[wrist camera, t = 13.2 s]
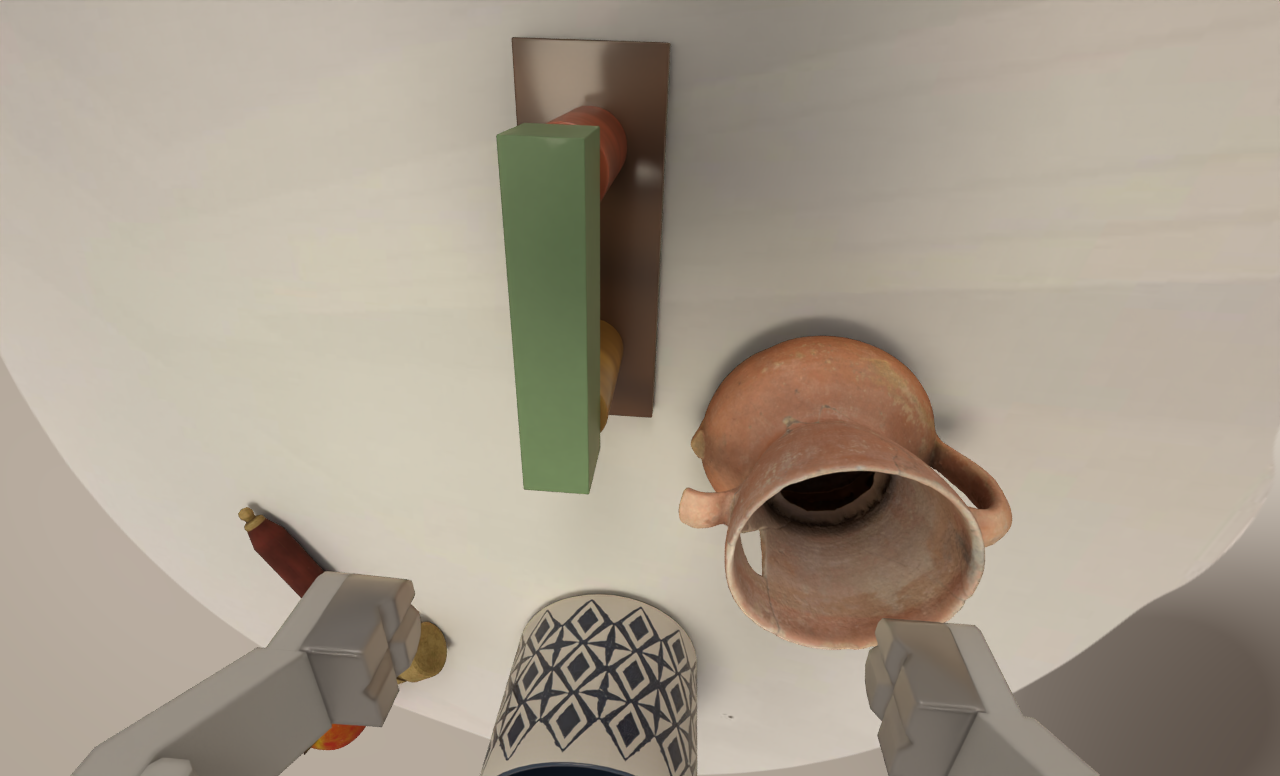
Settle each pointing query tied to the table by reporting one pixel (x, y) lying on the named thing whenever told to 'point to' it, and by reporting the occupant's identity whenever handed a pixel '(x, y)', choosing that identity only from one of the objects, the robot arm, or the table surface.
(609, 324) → the rod stand
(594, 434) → the bar
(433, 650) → the gavel
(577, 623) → the planter
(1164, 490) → the table surface
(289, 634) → the robot arm
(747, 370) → the ceramic jug
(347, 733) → the fruit
